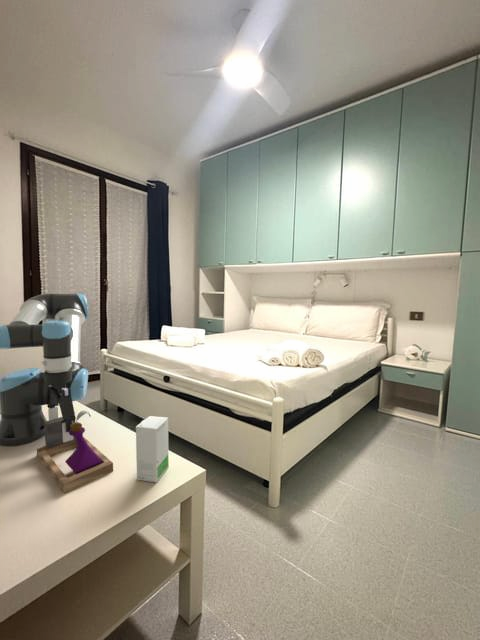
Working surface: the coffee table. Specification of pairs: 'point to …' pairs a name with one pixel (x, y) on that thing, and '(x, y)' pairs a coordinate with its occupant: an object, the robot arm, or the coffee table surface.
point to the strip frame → (57, 446)
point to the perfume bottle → (81, 449)
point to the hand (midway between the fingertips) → (60, 433)
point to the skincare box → (152, 448)
